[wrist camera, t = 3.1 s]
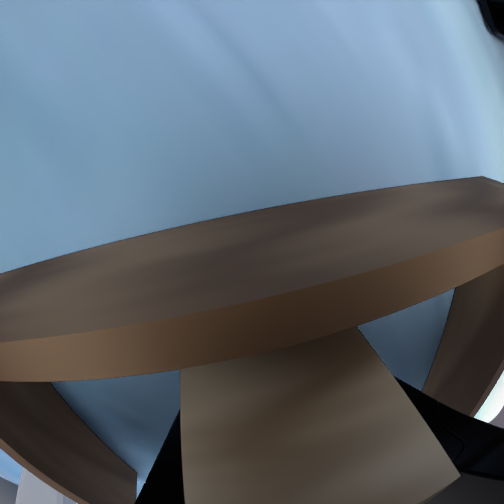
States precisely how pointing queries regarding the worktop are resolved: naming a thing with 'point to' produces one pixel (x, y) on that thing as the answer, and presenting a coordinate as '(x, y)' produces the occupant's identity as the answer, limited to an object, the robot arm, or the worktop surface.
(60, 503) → the salt shaker
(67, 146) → the worktop surface
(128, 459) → the worktop surface
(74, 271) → the wooden u-shaped frame
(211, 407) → the maple block
